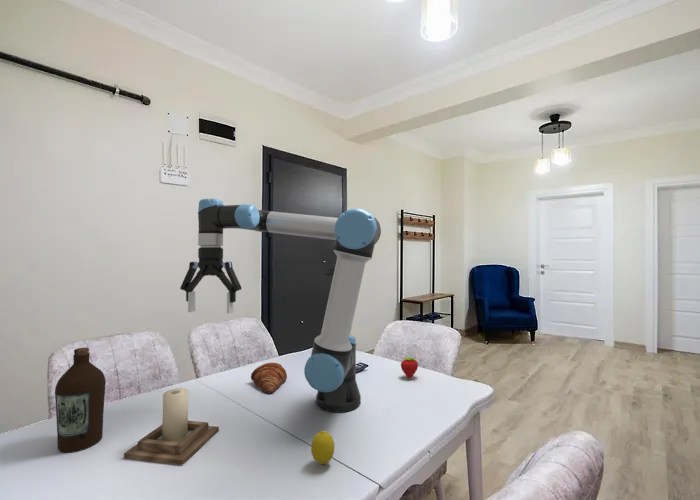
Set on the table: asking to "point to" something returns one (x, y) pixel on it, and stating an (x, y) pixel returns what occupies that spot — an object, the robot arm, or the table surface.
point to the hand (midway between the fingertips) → (210, 312)
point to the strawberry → (409, 366)
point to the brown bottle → (80, 404)
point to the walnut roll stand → (172, 445)
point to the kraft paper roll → (175, 415)
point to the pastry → (269, 377)
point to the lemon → (322, 447)
